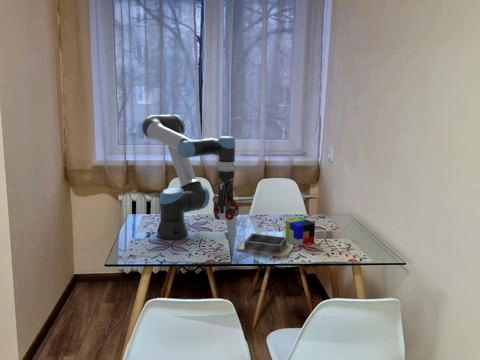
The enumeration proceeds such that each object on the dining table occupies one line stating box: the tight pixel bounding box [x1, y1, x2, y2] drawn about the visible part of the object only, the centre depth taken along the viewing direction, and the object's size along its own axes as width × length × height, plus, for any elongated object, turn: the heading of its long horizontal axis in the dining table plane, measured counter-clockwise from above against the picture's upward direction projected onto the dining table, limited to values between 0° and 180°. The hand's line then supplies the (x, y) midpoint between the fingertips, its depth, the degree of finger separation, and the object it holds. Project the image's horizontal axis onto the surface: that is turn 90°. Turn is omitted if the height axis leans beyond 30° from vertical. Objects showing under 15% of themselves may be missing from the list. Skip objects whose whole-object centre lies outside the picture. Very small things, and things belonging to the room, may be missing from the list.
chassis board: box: [235, 232, 295, 258], centre depth 207 cm, size 24×14×4 cm, turn 71°
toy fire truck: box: [212, 195, 240, 221], centre depth 210 cm, size 7×12×10 cm, turn 83°
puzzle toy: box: [285, 217, 316, 247], centre depth 217 cm, size 10×10×10 cm
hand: (225, 216), depth 212 cm, fingers closed on toy fire truck, 7 cm apart
